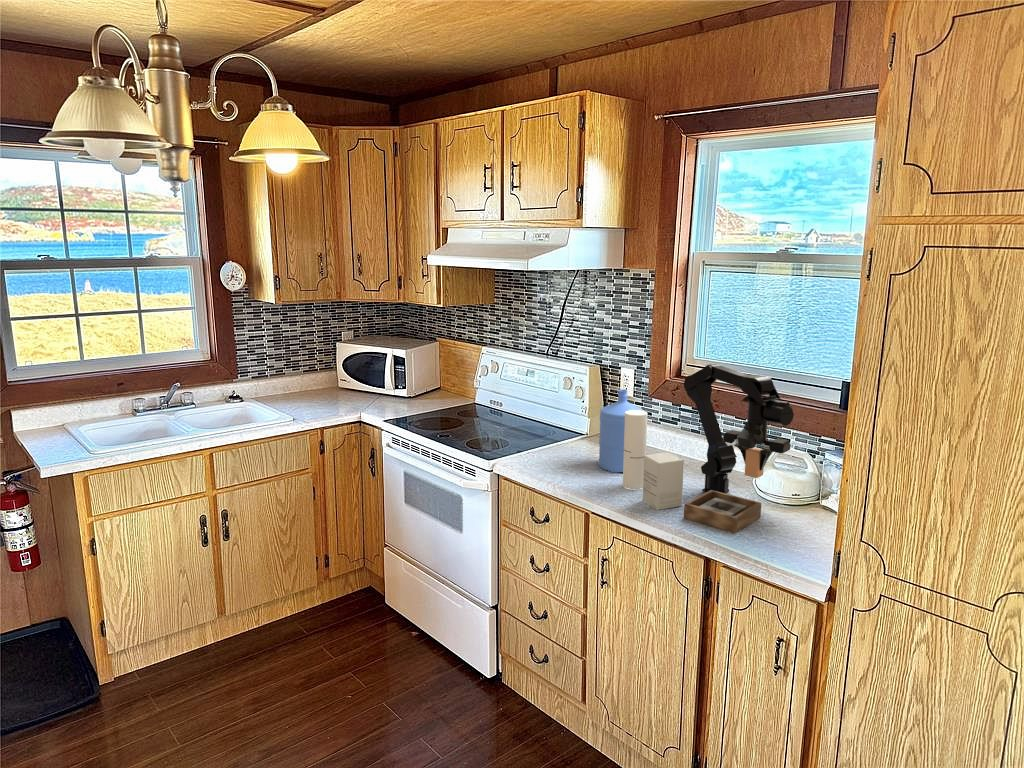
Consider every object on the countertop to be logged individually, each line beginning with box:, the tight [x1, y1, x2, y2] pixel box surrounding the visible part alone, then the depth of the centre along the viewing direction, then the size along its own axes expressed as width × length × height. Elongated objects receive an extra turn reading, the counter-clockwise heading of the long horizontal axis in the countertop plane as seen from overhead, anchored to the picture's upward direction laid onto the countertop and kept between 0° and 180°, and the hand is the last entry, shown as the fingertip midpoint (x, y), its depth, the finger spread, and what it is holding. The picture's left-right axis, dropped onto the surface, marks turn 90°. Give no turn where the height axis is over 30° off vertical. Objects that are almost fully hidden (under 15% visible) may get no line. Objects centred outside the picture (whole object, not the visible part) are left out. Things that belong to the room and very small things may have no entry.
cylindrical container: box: [622, 410, 648, 490], centre depth 227 cm, size 7×7×25 cm
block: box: [744, 447, 764, 479], centre depth 209 cm, size 4×4×8 cm
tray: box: [683, 490, 762, 535], centre depth 202 cm, size 16×16×4 cm
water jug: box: [598, 389, 644, 473], centre depth 247 cm, size 16×16×28 cm
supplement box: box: [642, 451, 685, 511], centre depth 213 cm, size 9×9×15 cm
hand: (754, 468), depth 210 cm, fingers closed on block, 4 cm apart
